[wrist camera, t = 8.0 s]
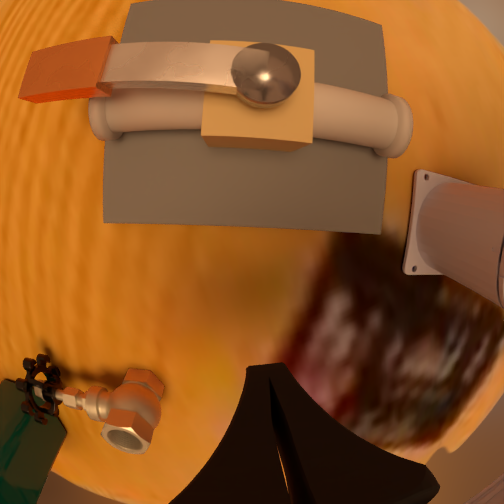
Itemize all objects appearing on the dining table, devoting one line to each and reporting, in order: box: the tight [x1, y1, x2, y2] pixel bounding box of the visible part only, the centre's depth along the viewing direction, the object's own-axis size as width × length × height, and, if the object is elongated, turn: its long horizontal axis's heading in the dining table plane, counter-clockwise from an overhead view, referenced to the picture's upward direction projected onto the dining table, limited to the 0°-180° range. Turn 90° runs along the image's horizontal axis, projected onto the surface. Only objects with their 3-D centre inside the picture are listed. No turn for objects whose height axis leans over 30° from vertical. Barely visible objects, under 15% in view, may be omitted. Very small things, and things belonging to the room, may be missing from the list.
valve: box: [15, 354, 165, 454], centre depth 17 cm, size 7×7×12 cm
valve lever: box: [18, 36, 301, 108], centre depth 9 cm, size 12×3×2 cm, turn 81°
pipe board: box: [89, 0, 413, 234], centre depth 13 cm, size 18×16×5 cm
